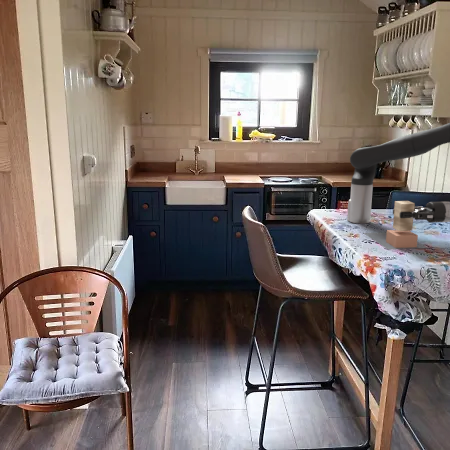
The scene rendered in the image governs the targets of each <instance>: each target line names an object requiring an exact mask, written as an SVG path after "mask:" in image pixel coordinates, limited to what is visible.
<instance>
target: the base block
mask: <svg viewBox="0 0 450 450" xmlns="http://www.w3.org/2000/svg"><path fill="white" fill-rule="evenodd" d="M386 232H387V234H386V242H387V243H389V244H390V245H392V246H393V247H395V248H408V247H417V242H418V237H419V235H418V234H416V233H414V232H413V231H398V230H396V229H391V230H389V229H387V230H386Z"/></svg>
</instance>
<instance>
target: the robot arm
mask: <svg viewBox="0 0 450 450" xmlns="http://www.w3.org/2000/svg"><path fill="white" fill-rule="evenodd" d="M445 144H450V122H448V123H446V124H442V125H440V126H437V127H433V128H428V129H426V130H421V131H417V132H414V133H410V134H406V135H404V136H399V137H397V138H394V139H392V140H390V141H387V142H384V143H382V144H378V145H373V146H367V147H366V146H365V147H359V148H357V149H355V150H353V152H352V153H351V155H350V156H349V161H350V164H351V166H352V167H353V168H354V171H353V175H352V177H351V181H350V182H351V184H350V199H348V200H347V201H348V202H347V203H348V204H347V219H346V220H347V221H348V222H350V223H354V224H369V223H371V215H372V198H373V188H374V187H373V186H374V185H373V184H374V179H375V176H376V168H377V165H378V164H380V163H384V162H389V161H390V162H391V161H392V162H393V161H397V160H398V161H399V160H405V159H409V158H413V157H419V156H421V155H424V154H426V153H428V152H430V151H432V150H433V149H435V148H438V147H440V146H442V145H445ZM392 215H394V208H393V209H392ZM410 217H411V218H412V219H413V220H416V221H420V220H421V221H426V222H428V223H431V224H432V223H433V224H435V223H448V222H450V201H429V202H428V203H426V204H425V206H422V205H421V206H416V205H415V206H414V211H411V212H400V218H410Z"/></svg>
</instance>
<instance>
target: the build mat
mask: <svg viewBox="0 0 450 450" xmlns="http://www.w3.org/2000/svg"><path fill="white" fill-rule="evenodd" d="M363 234H364V235H365V236H367V237H368V238H370V239H371V240H373V241H374V242H375V243H377V244H379V245H380V246H382V247H383V248H385V249H386V250H387V251H388V250H414V249H415V250H417V249H418V250H419V249H428V247H427V246H425V245H423V244H421V243H419V242H418V241H417V247H408V248H395V247H393V246H392V245H390V244H389V243H387V242H386V234H387V231H385V232H381V231H380V232H363Z"/></svg>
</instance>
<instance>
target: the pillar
mask: <svg viewBox="0 0 450 450" xmlns="http://www.w3.org/2000/svg"><path fill="white" fill-rule="evenodd" d="M414 206H416V204H415V202H412V201H409V200H397V201H396V200H395V201H394V208H393V209H394V214H393V222H392V228H393V230H398V231H411V232H413V226H414V219H412V218H411V217H410V218H400V212H411V211H414Z"/></svg>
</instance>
